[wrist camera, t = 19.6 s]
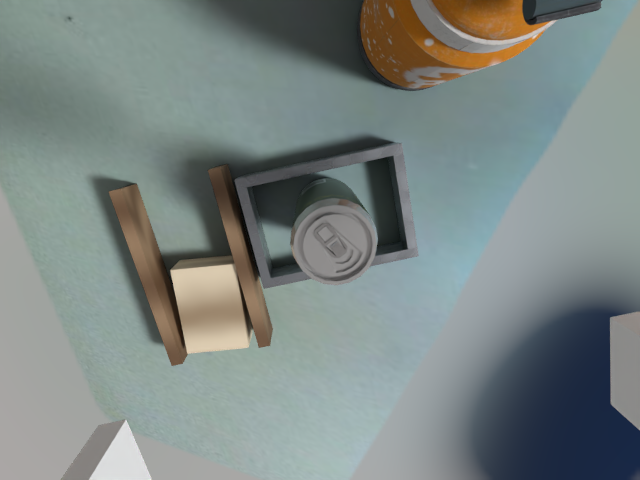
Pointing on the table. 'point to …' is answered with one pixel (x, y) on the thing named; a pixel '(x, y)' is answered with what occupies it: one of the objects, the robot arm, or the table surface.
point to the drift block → (211, 304)
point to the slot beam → (156, 275)
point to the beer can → (332, 233)
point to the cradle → (245, 182)
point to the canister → (451, 35)
